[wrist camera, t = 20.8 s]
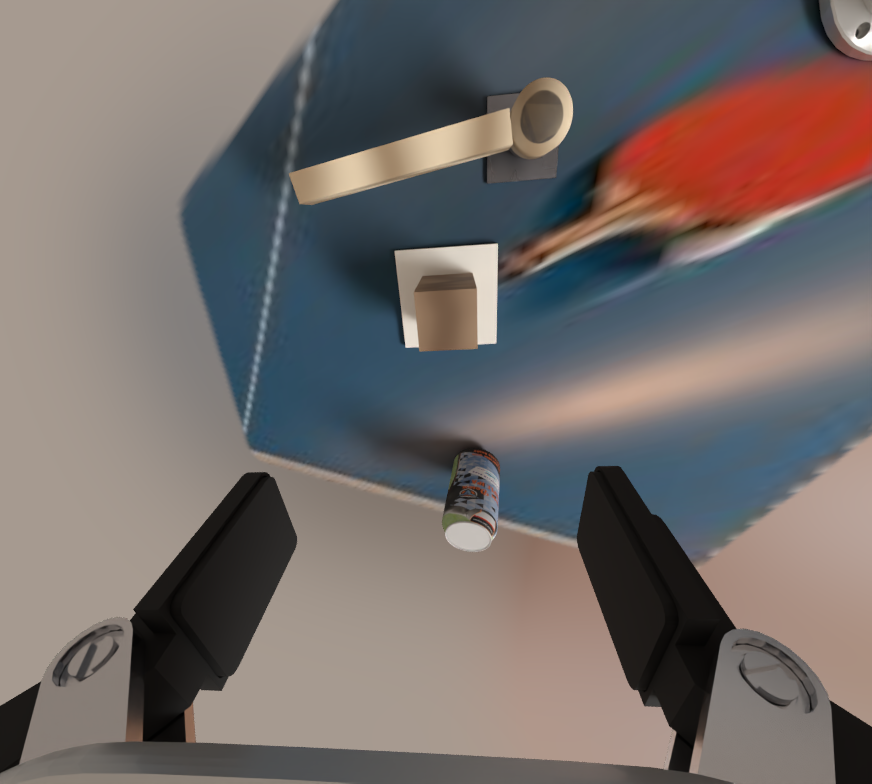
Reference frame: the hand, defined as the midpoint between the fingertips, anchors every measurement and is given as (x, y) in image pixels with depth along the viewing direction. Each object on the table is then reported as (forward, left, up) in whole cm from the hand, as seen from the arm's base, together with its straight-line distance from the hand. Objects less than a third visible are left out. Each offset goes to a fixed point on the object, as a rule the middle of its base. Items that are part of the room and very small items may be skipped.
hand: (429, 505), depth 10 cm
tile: (0, 0, -28) cm, 28 cm away
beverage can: (-2, +22, -28) cm, 36 cm away
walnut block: (0, 0, -28) cm, 28 cm away
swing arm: (+1, -12, -28) cm, 30 cm away
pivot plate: (-7, -13, -28) cm, 32 cm away
